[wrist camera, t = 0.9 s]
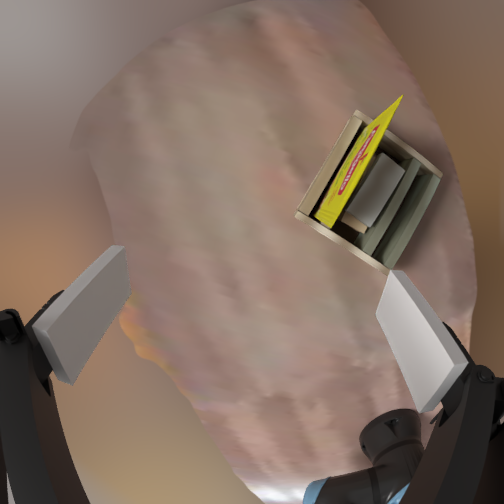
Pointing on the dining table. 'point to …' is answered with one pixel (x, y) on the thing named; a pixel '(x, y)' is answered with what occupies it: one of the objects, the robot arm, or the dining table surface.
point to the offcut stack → (371, 193)
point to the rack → (406, 215)
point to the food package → (352, 168)
